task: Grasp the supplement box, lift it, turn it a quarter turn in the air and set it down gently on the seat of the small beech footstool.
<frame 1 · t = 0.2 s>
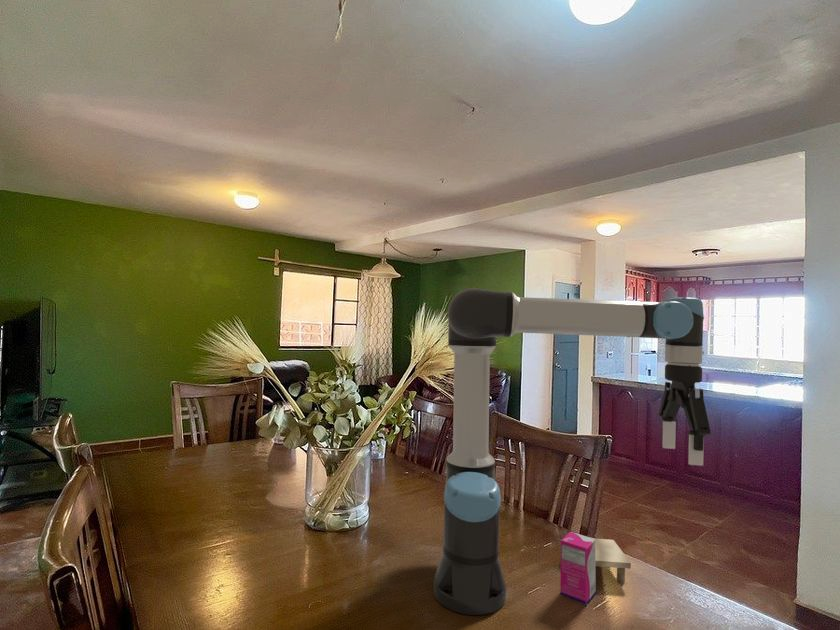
hand: (681, 456, 105), 28 cm above the table, fingers open, 13 cm apart
footstool: (596, 570, 106), on the table
supplement box: (577, 594, 96), on the table
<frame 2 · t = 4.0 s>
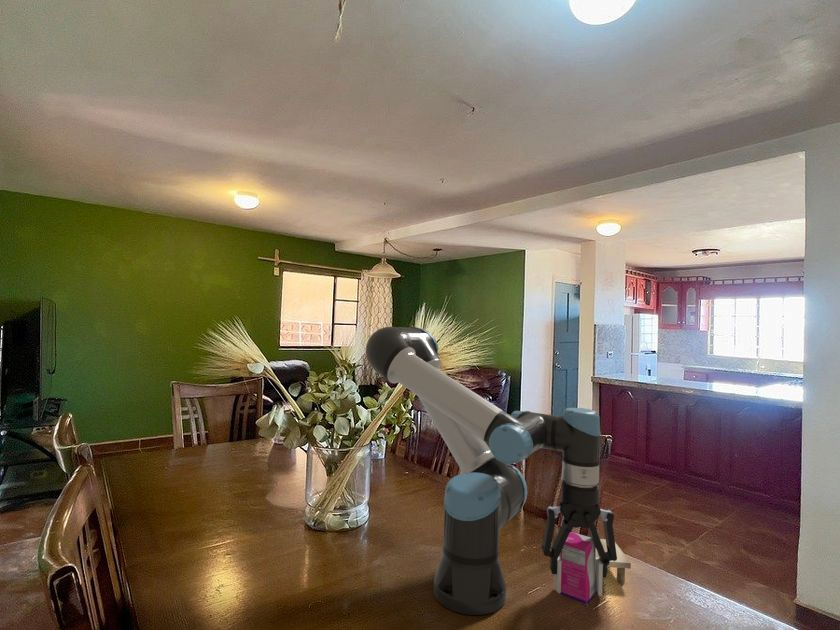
hand: (577, 590, 96), 1 cm above the table, fingers closed on supplement box, 8 cm apart
supplement box: (577, 594, 96), on the table, touching gripper
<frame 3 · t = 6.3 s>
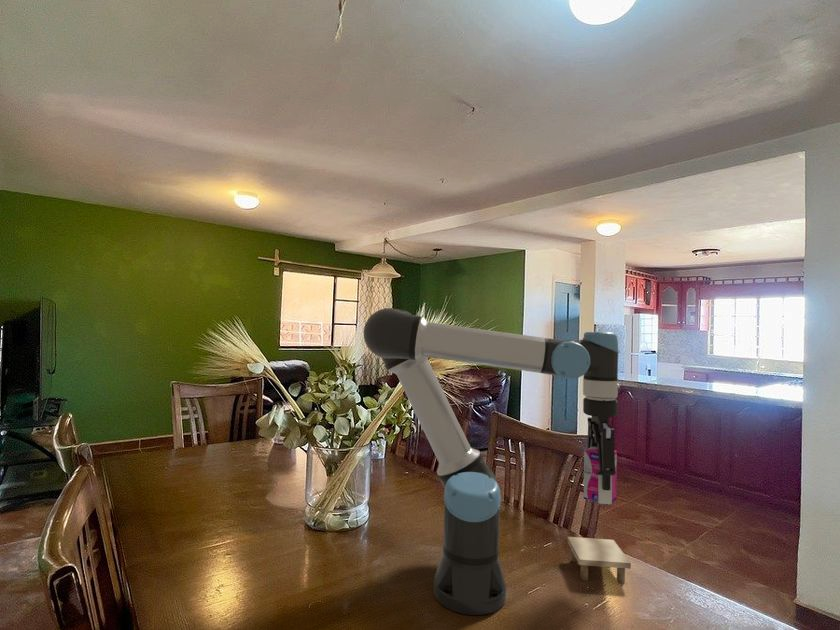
hand: (599, 496, 105), 18 cm above the table, fingers closed on supplement box, 8 cm apart
supplement box: (600, 500, 105), point 17 cm above the table, touching gripper
when the fingers open (7 cm above the table, at t = 8.7 s): supplement box drops 1 cm, resting on footstool.
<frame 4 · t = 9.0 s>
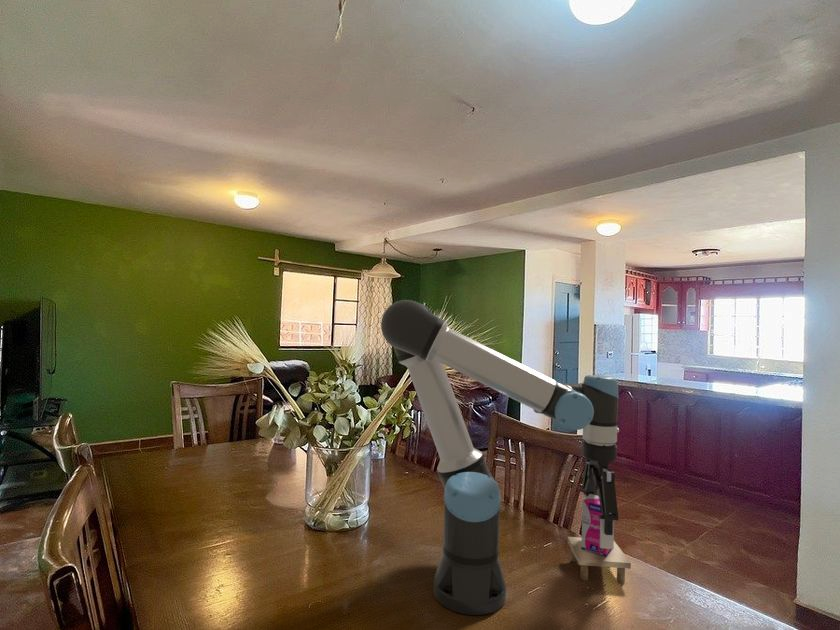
hand: (597, 534, 106), 8 cm above the table, fingers open, 12 cm apart
supplement box: (597, 549, 106), point 5 cm above the table, touching footstool
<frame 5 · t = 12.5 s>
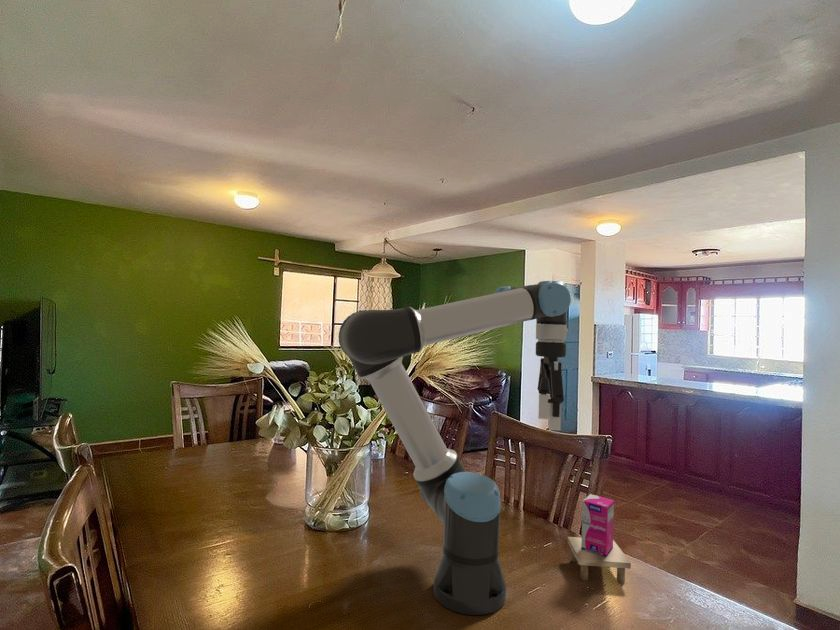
hand: (548, 424, 116), 32 cm above the table, fingers open, 13 cm apart
nothing on the table moved.
at the end: supplement box inside the target area on the footstool (0.0 cm from its centre), point 4.8 cm above the footstool's base; supplement box tilted 0°; the gripper is holding nothing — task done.
